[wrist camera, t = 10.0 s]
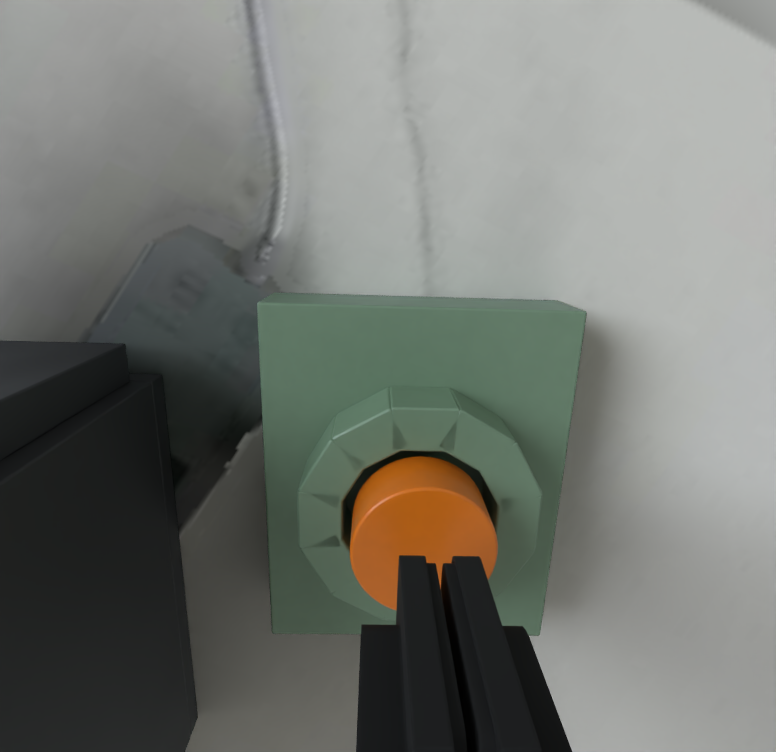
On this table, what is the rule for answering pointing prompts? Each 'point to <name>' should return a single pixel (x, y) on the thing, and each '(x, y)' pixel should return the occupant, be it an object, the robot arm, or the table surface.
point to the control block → (410, 434)
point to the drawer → (52, 385)
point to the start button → (417, 522)
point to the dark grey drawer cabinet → (95, 585)
